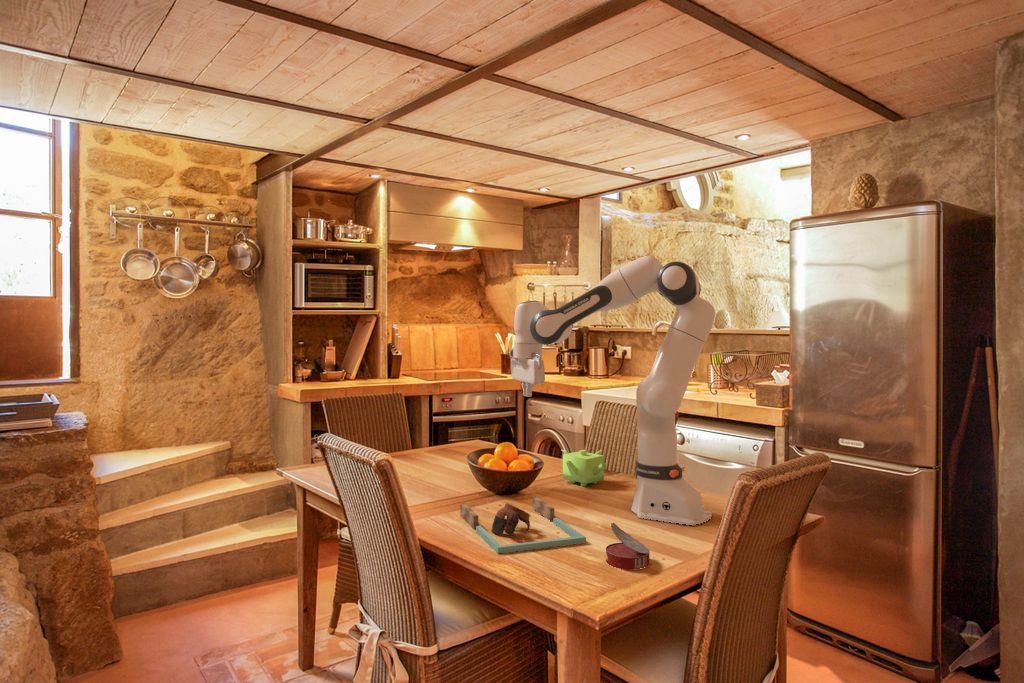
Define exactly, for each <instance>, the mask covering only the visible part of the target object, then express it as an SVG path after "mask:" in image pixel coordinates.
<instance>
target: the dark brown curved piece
mask: <svg viewBox="0 0 1024 683" xmlns="http://www.w3.org/2000/svg"><path fill="white" fill-rule="evenodd" d="M530 517H531V514H530V513H528V511H527V512H526V511H525V510H523V509H521V508H519V507H517V506H515V505H513V504H511V503H505V504H504V506H503V507H501V508H500V509H499V510H497V512H496V515H494V518H493V522H492V526H491V532H493V534H495V535H498V536H499V537H503V536H504V535H503V534H504V532H505V534H507V535H514V534H515V531H516V529H517V528H516V527H517V526H518V524H519V523H520V522H523V523H524V524H525V525H526V530H525V531H526V532H527V531H528V532H529V530H530V527H531V522H530Z"/></svg>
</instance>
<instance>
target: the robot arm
mask: <svg viewBox="0 0 1024 683" xmlns="http://www.w3.org/2000/svg"><path fill="white" fill-rule="evenodd" d="M701 290H702V289H701V283H700V280H699V277H698V275H697V274H696V272H695V270H693V268H692V267H691V266H690V265H688V264H687V263H685V262H681V261H671V262H668V263H666V264H665V265H662V263H661V262H660V260H659V259H658V258H656V256H653V255H644V256H642V257H638V258H636V259H634V260H632V261H629V262H627V263H625V264H623V265H622V266H620V267H618V268H617V269H615V270H613V271H612V272H611V273H609V274H608V275H607V276H605V277H604V278H603V279H601V280H600V281H599V282H597V284H595V285H594V286H593V287H592V288H590V289H589V290H588V291H586V292H584V293H582V294H581V295H579V296H577V297H576V298H574V299H573V300H571V301H569V302H566V303H565V304H564V305H561V306H559V307H558V308H554V309H552V308H550V307H548V306H546V305H544V303H541V302H540V301H539V300H528V301H524V302H520V303H519V304H518V305H517V306H516V307H515V311H514V319H513V320H514V321H513V323H514V324H513V330H514V337H515V338H514V340H513V347H512V349H510V350H509V358H510V372H511V373H510V375H511V378H512V380H514V381H519V382H521V387H522V391H523V392H522V395H523V396H524V397H527V398H529V397H530V398H531V397H532V396H533V389H534V386H535V385H544V384H545V381H546V376H545V375H546V374H545V373H546V371H545V362H544V360H543V359H542V358H543V345H551V344H557V343H562V342H563V341H566V340H567V339H568V338H569V337H570V336H571V334H572V332H573V325H576V323H578V322H580V321H582V320H584V319H585V318H587V317H589V316H591V315H592V314H595V313H598V312H603V311H609V310H616V309H620V308H624V307H626V306H628V305H631V304H633V303H634V302H636V301H638V300H640V299H641V298H643V297H645V296H646V295H648V294H651V293H658V294H659V295H660V296H661V297H662V298H664V300H666V301H667V303H669V304H670V305H672V306H674V307H675V312H674V316H673V318H672V321H671V323H670V325H669V327H668V329H667V331H666V333H665V336H664V338H663V340H662V341H661V344H660V345H659V348H658V350H657V351H656V352H657V353H656V356H655V360H654V362H653V365H652V367H651V369H650V373H649V375H648V376H646V377H644V378H643V379H641V381H640V382H639V383H638V385H637V387H636V391H635V392H636V394H635V396H636V398H635V402H636V423H637V424H636V425H637V461H635V478H636V485H635V492H634V497H633V501H632V505H631V508H630V509H631V512H633V513H634V514H636V517H637V518H639V519H643V518H644V520H650V519H651V520H650V521H656V520H658V521H657V522H663V521H664V523H669V522H671V523H670V524H676V523H679V524H678V525H682V524H686V525H685V526H689V525H692V526H697V525H696V524H699V525H701V524H700V523H702V524H704V523H703V522H705V523H707V522H709V521H710V520H711V519H712V518H713V517H712V516H713V515H712V512H711V511H709V510H706V509H705V507H704V501H703V497H702V494H701V493H700V492H699V491H698V490H697V489H696V488H694V487H693V486H692V485H691V484H690V483H689V482H688V480H686V479H685V478H683V472H685V471H686V470H685V469H686V467H684V466H683V467H681V466H680V465H679V463H678V462H677V461H678V460H677V458H678V455H677V454H678V452H677V451H678V434H677V428H676V415H675V414H676V413H677V412H678V411H679V409H680V407H681V406H682V401H683V399H684V398H685V397H684V396H685V393H686V391H687V388H688V385H689V382H690V380H691V376H692V373H693V370H694V368H695V366H696V365H697V364H696V363H697V361H698V360H699V357H700V355H701V353H702V351H703V349H704V347H705V344H706V343H707V340H708V338H709V336H710V334H711V330H712V328H713V325H714V321H715V318H716V309H715V307H714V305H713V304H711V302H710V301H708V300H706V299H703V297H700V295H701ZM711 517H712V518H711ZM709 519H710V520H709ZM708 520H709V521H708ZM706 521H707V522H706Z"/></svg>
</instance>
